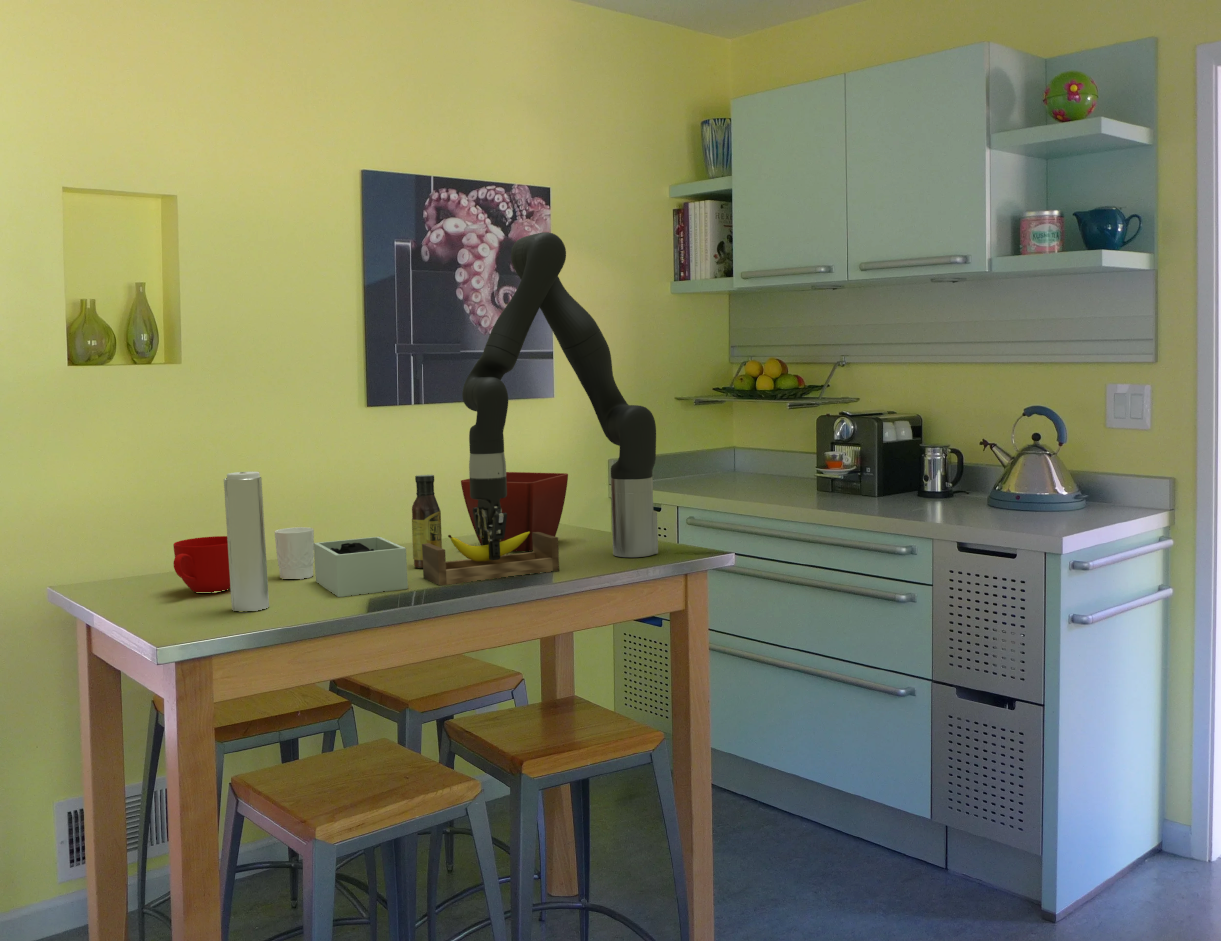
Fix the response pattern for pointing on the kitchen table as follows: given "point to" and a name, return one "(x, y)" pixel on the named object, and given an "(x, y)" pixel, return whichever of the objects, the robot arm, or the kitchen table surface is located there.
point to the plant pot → (527, 504)
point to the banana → (487, 547)
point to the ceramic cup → (203, 563)
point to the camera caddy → (361, 567)
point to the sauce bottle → (425, 518)
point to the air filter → (246, 541)
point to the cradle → (491, 563)
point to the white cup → (295, 552)
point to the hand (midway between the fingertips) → (491, 557)
